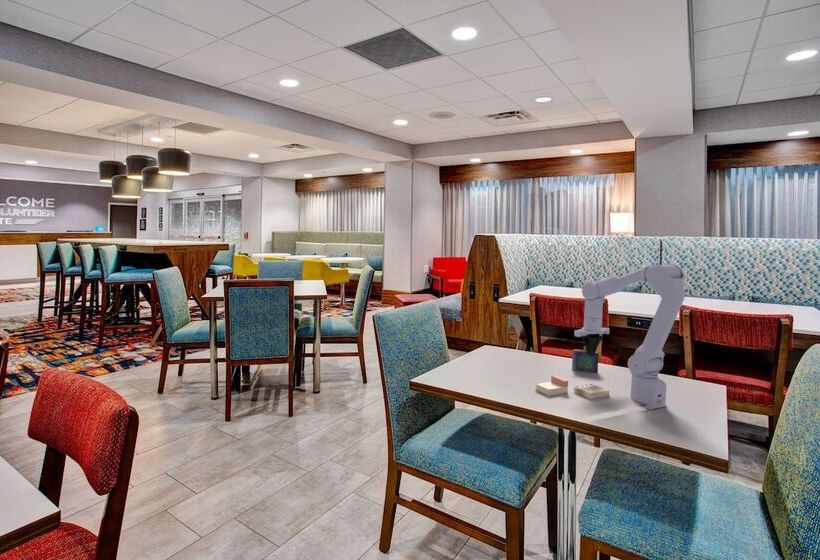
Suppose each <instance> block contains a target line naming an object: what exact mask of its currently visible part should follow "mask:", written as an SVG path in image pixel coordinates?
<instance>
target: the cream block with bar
mask: <svg viewBox="0 0 820 560" xmlns="http://www.w3.org/2000/svg"><path fill="white" fill-rule="evenodd" d="M550 378H551V381H547V382H540V383H536V384H535V391H537V392H540V393H541V394H544V395H546V396H548V397H549V396H554V395H560V394H567V393H568V389H569V380H567V379H565V378H562V377H561V376H558V375H556V374H555V375H551V377H550Z"/></svg>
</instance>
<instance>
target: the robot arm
mask: <svg viewBox="0 0 820 560" xmlns="http://www.w3.org/2000/svg"><path fill="white" fill-rule="evenodd" d="M685 279H686V275H685V273H684V272H683V270H682V268H681V267H680V266H679V265H677V264H675V263H669V264H651V265H648V266H644V267H641V268H638V269H636V270H634V271H632V272H628V273H627V274H624V275H622V276H619V275H616V274H607V277H605V278H602V279H597V280H595V282H587V283H585V284H584V285H583V286H582V288H581V294H582V297H583V298H584V313H583V314H584V316H583V327H581V328H580V329H577V330H576V329H575V330H574V332H573V333H574V334H573V335H574V337H577V338H580V337H581V339H582V340H583V343H584V346H586V351H587V355H589V356H594V355H595V352H597V349H598V347H599V344H600V343H601V341H603V336H602V335H605V334H606V335H610V328H608V327H602V319H603V305H604V302H605V301H604V300H605V298H606V297H607V296H611V295H613V294H617V293H620V292H622V291H623V289H624V287H626V286H629V285H633V284H636V283H639V282H644V283H645V282H646V283H648V284H649V285H650V286H651V288H653V289H654V290H655V291H656V293H658V294H659V296H660V298H661V299H660V302H659V305H658V306H657V309H656V311H655V314H654V316H653V319H652V320H651V323H650V326H649V328H648V330H647V333H646V335H645V338H644V340H643V342H642V343H641V345H640V346H639V347H637V348H636V349H635V351H634V353H633V355H631V356H630V357H629V358H628V361H627V368H628V370H629V372H630V374H631V384H630V399H631V400H633V401H635V402H639V403H642V404H640V405H638V406H639V407H641V408H645V409H646V410H655V409H659V408H663V407H664V408H665V407H667V406H668V405H667V403H666V400H667V399H666V398H667V384H666V382H665V381H664V380H663V379H660V378H659V372H660V371H661V370H662V369H663V367H664V357H665V355H666V354H665V352H664V351H663V348H664V345H665V343H666V342H667V339H668V337H669V335H670V332H671V330H672V327H673V326H674V323H675V321H676V319H677V316H678V314H679V311H680V310H681V308H682V305H683V302H684V301H685V288H684V287H685V286H684V284H685V283H684V282H685Z"/></svg>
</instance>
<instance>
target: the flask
mask: <svg viewBox="0 0 820 560" xmlns="http://www.w3.org/2000/svg"><path fill="white" fill-rule="evenodd" d="M571 362H572V363H571V370H572V371H575V372H577V371H579V372H586V373H592V374H598V373H599V372H598V371H599V370H598V369H599V352H598V351H596V352H595V355H594V356H589V355H587V351H586V346H585V345H584V346H583V349H573V350H572V361H571Z"/></svg>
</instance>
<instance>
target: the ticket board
mask: <svg viewBox="0 0 820 560" xmlns="http://www.w3.org/2000/svg"><path fill="white" fill-rule="evenodd" d="M573 391H574V392H573V393H574V394H577V395H579V396H582V397H584V398H587V399H589V400H595V399H599V398H600V399H601V398H607V397H610V389H607V388H604V387H602V386H600V385H596V384H594V383H590V384H583V385H577V386H574V388H573Z"/></svg>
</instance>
